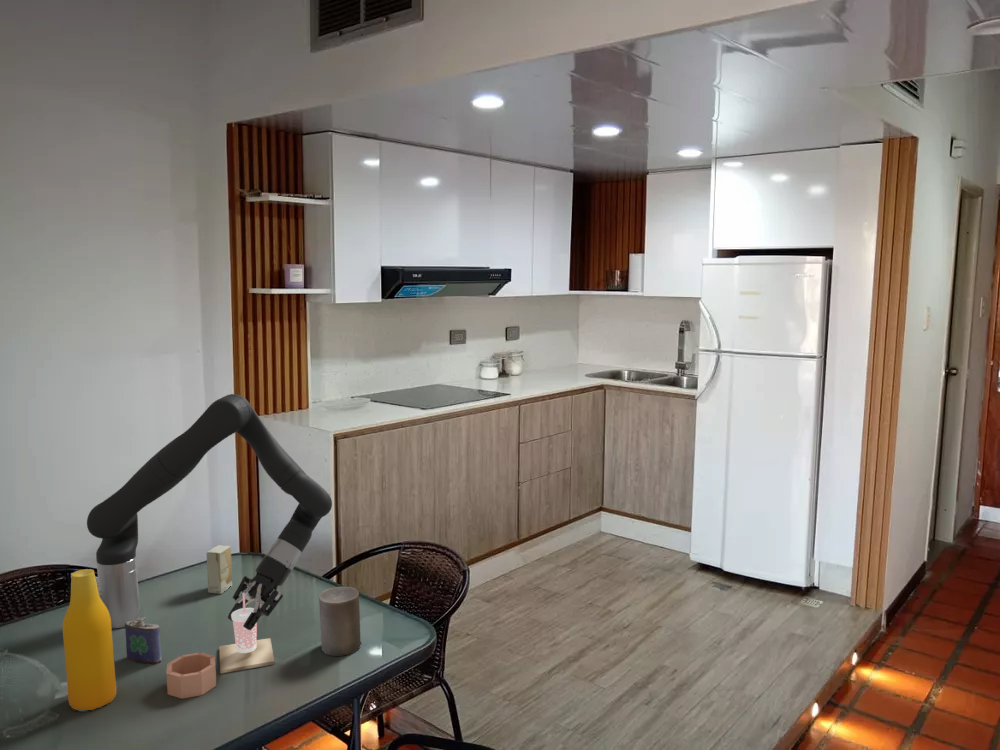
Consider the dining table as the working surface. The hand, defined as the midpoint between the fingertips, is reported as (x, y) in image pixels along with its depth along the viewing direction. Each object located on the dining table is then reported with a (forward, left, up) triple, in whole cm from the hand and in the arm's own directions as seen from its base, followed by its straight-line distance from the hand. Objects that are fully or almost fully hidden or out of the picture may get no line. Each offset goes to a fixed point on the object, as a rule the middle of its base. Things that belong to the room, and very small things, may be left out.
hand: (238, 624), depth 184 cm
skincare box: (-4, +44, -9) cm, 45 cm away
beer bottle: (-31, -7, -9) cm, 33 cm away
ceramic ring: (-11, -8, -9) cm, 16 cm away
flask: (-22, +8, -9) cm, 25 cm away
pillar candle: (+23, -2, -9) cm, 25 cm away
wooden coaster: (+1, +1, -9) cm, 9 cm away
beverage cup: (+1, +1, -7) cm, 7 cm away
